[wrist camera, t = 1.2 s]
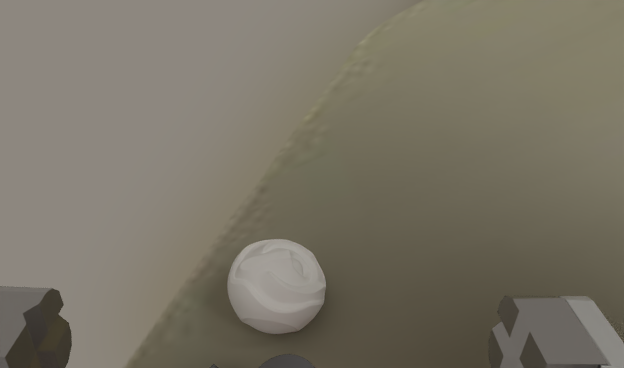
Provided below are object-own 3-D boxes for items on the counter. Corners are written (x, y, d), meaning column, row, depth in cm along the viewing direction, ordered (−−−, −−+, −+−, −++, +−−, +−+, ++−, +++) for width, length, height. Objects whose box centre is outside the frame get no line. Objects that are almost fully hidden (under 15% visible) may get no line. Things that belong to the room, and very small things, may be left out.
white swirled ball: (347, 330, 40) (314, 280, 35) (262, 367, 41) (217, 324, 35) (321, 255, 46) (289, 203, 41) (247, 289, 46) (206, 242, 41)
